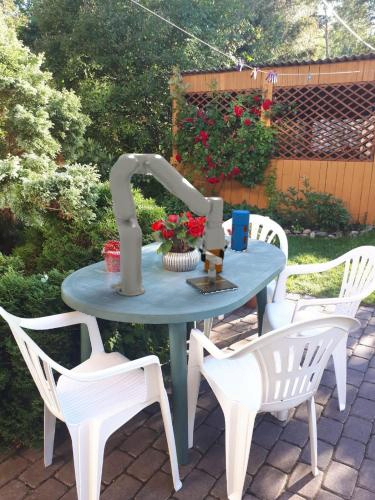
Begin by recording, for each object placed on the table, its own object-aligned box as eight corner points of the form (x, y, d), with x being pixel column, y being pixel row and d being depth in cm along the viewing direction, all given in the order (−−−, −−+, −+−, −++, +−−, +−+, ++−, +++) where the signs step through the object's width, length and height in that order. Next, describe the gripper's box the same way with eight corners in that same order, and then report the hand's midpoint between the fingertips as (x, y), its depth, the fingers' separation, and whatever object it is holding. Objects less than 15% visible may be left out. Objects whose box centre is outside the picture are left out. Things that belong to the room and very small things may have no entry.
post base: (203, 294, 166) (204, 278, 164) (186, 281, 182) (186, 266, 180) (237, 289, 174) (238, 273, 172) (217, 277, 189) (218, 262, 187)
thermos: (227, 248, 245) (229, 210, 238) (241, 247, 249) (243, 209, 242) (236, 252, 235) (238, 213, 228) (250, 251, 240) (253, 212, 233)
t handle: (216, 273, 169) (217, 259, 168) (201, 264, 182) (202, 251, 180) (221, 272, 171) (222, 258, 169) (206, 263, 183) (206, 250, 181)
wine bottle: (223, 269, 203) (226, 214, 195) (220, 274, 194) (223, 217, 186) (206, 267, 205) (208, 213, 197) (202, 272, 196) (204, 216, 188)
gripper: (201, 227, 163) (199, 264, 168) (234, 224, 170) (232, 260, 175) (193, 224, 169) (192, 260, 174) (225, 221, 177) (224, 256, 181)
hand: (212, 260), depth 174 cm, fingers open, 9 cm apart
